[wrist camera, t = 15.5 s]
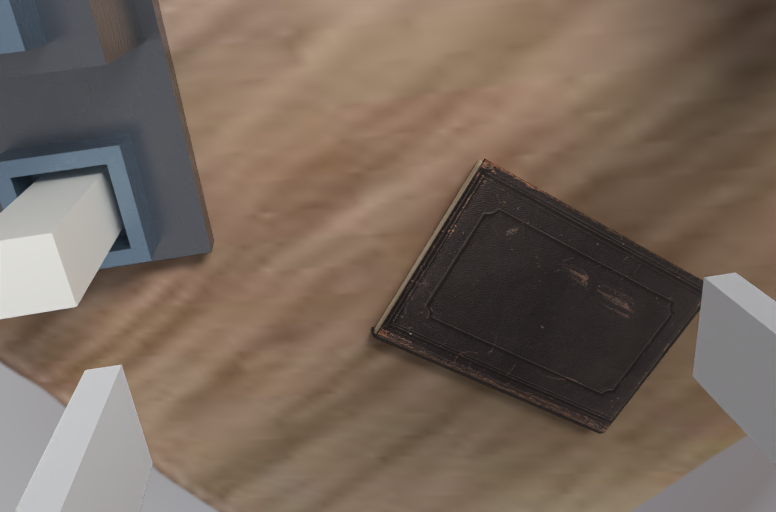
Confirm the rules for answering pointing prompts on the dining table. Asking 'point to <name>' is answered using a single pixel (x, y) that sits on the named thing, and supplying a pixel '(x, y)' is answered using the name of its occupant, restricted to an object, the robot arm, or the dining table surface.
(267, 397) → the dining table surface
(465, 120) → the dining table surface
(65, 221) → the plug
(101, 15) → the stepped holder stand
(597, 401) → the hardcover book
